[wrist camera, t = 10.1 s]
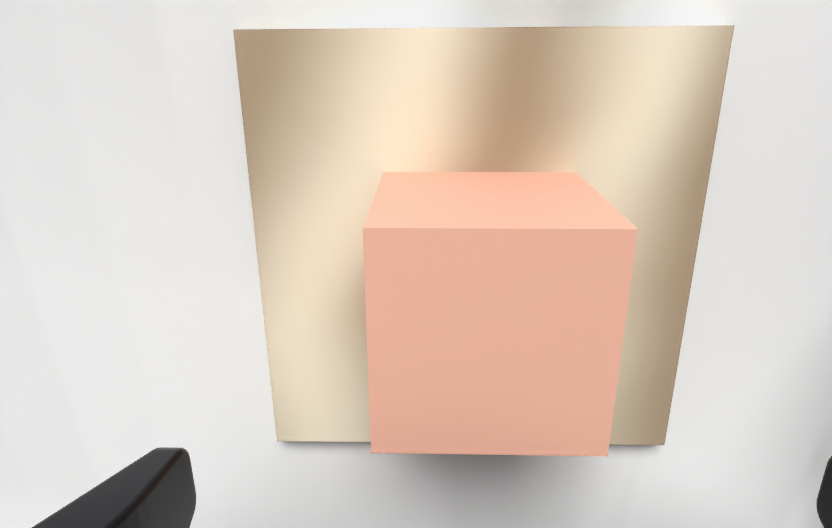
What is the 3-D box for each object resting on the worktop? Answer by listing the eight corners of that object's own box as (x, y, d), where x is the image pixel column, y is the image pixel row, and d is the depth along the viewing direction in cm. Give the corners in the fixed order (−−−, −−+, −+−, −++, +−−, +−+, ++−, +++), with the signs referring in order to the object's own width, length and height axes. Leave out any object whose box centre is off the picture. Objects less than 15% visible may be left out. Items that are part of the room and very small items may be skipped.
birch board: (722, 26, 15) (734, 25, 14) (657, 433, 19) (664, 445, 18) (240, 29, 15) (233, 29, 14) (281, 429, 19) (277, 441, 19)
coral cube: (575, 172, 16) (637, 229, 11) (560, 343, 17) (607, 456, 13) (383, 171, 16) (362, 227, 11) (387, 341, 17) (370, 452, 13)
